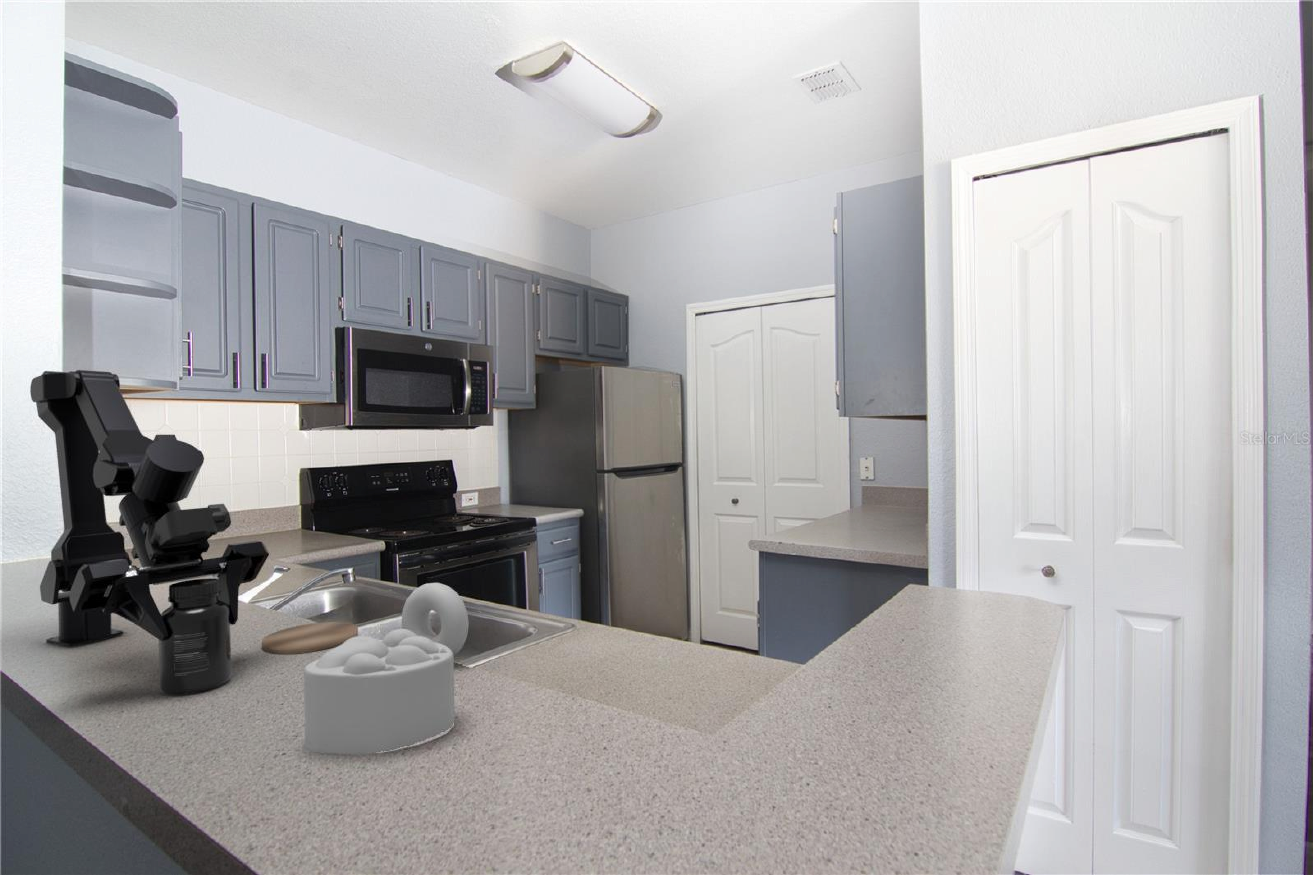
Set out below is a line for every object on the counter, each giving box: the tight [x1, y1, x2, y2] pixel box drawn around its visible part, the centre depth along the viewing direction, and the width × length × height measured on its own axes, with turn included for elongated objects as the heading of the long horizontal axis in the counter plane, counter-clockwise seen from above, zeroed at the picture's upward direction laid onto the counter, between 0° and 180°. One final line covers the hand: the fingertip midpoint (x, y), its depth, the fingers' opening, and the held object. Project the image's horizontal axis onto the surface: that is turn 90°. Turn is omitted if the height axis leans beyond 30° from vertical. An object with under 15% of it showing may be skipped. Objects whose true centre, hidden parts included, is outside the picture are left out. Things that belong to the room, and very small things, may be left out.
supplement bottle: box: [158, 578, 232, 696], centre depth 74 cm, size 7×7×12 cm
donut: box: [401, 582, 470, 657], centre depth 81 cm, size 10×4×10 cm, turn 65°
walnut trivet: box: [261, 621, 359, 655], centre depth 91 cm, size 12×12×1 cm
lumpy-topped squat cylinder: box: [303, 628, 455, 755], centre depth 63 cm, size 10×13×9 cm
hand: (201, 630), depth 74 cm, fingers closed on supplement bottle, 7 cm apart
